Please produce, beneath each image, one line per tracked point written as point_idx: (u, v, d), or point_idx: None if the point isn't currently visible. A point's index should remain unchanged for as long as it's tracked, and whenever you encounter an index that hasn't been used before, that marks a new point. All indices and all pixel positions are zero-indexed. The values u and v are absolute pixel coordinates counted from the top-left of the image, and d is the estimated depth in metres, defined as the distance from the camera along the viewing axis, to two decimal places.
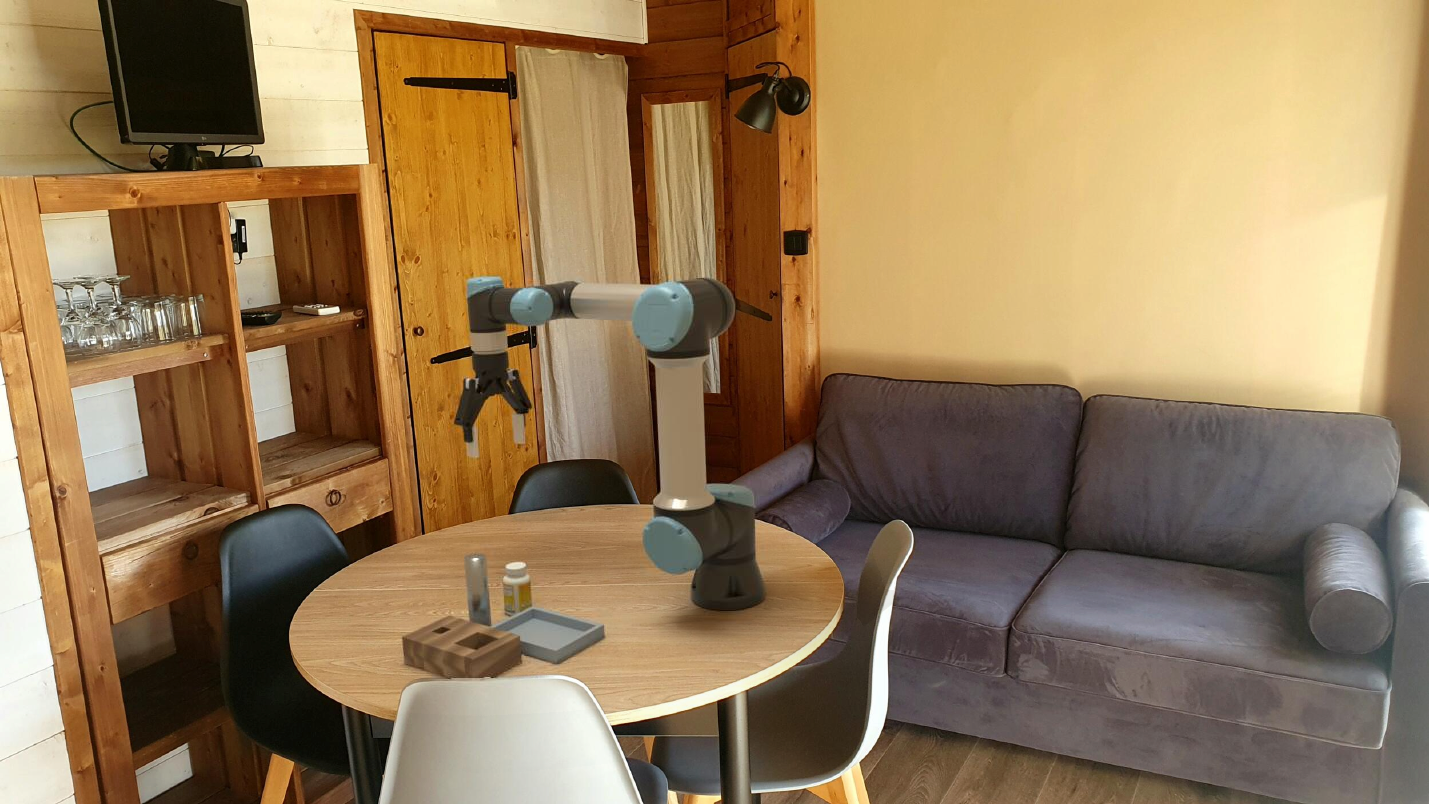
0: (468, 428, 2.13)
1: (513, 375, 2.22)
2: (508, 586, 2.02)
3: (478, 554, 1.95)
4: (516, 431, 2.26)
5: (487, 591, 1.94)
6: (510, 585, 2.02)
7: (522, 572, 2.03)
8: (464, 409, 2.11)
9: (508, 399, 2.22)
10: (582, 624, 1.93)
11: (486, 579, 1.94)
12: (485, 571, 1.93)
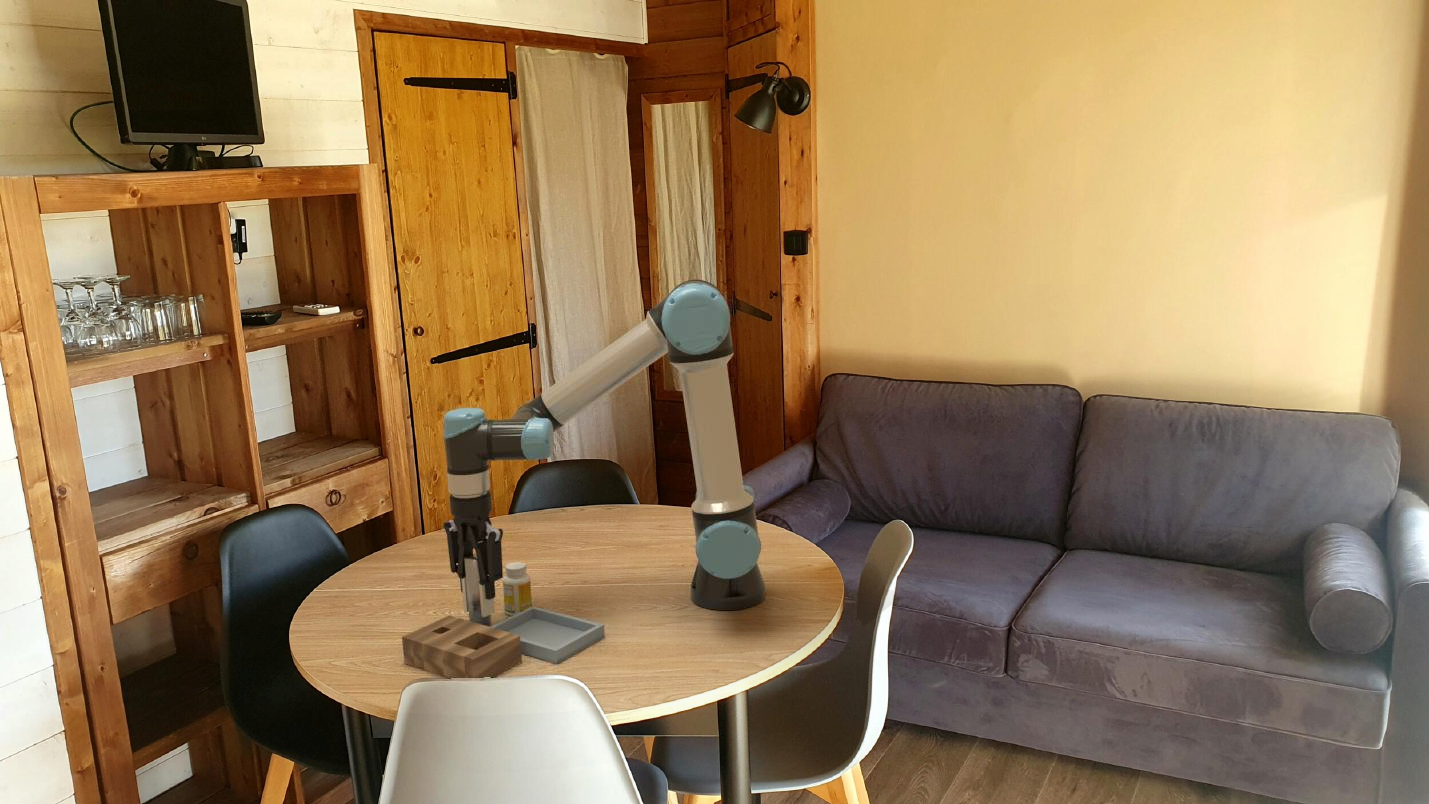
0: None
1: None
2: (508, 586, 2.02)
3: None
4: None
5: None
6: (510, 585, 2.02)
7: (522, 572, 2.03)
8: None
9: None
10: (582, 624, 1.93)
11: None
12: None
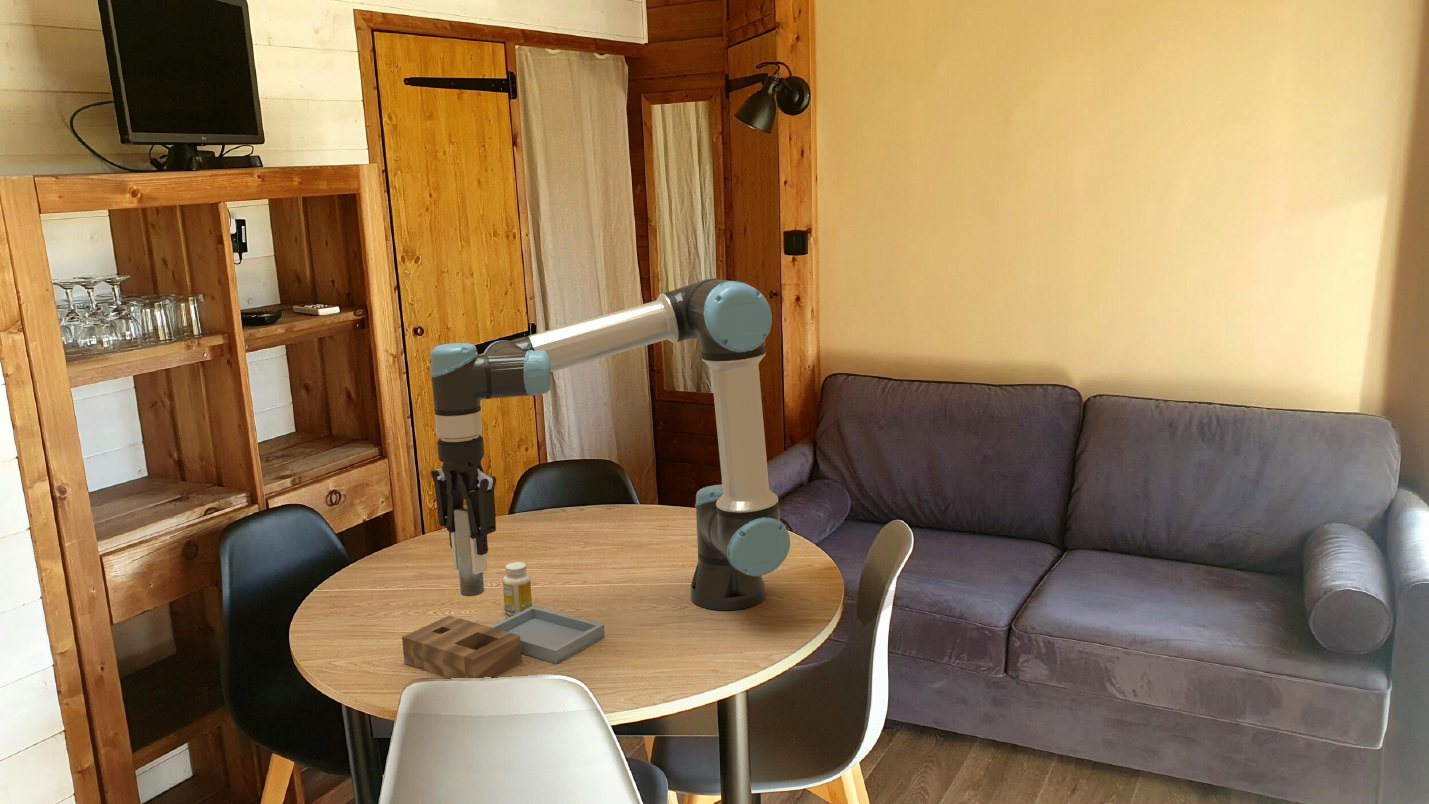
0: (449, 531, 1.78)
1: None
2: (508, 586, 2.02)
3: None
4: None
5: None
6: (509, 585, 2.02)
7: (522, 572, 2.03)
8: None
9: None
10: (582, 624, 1.93)
11: None
12: None
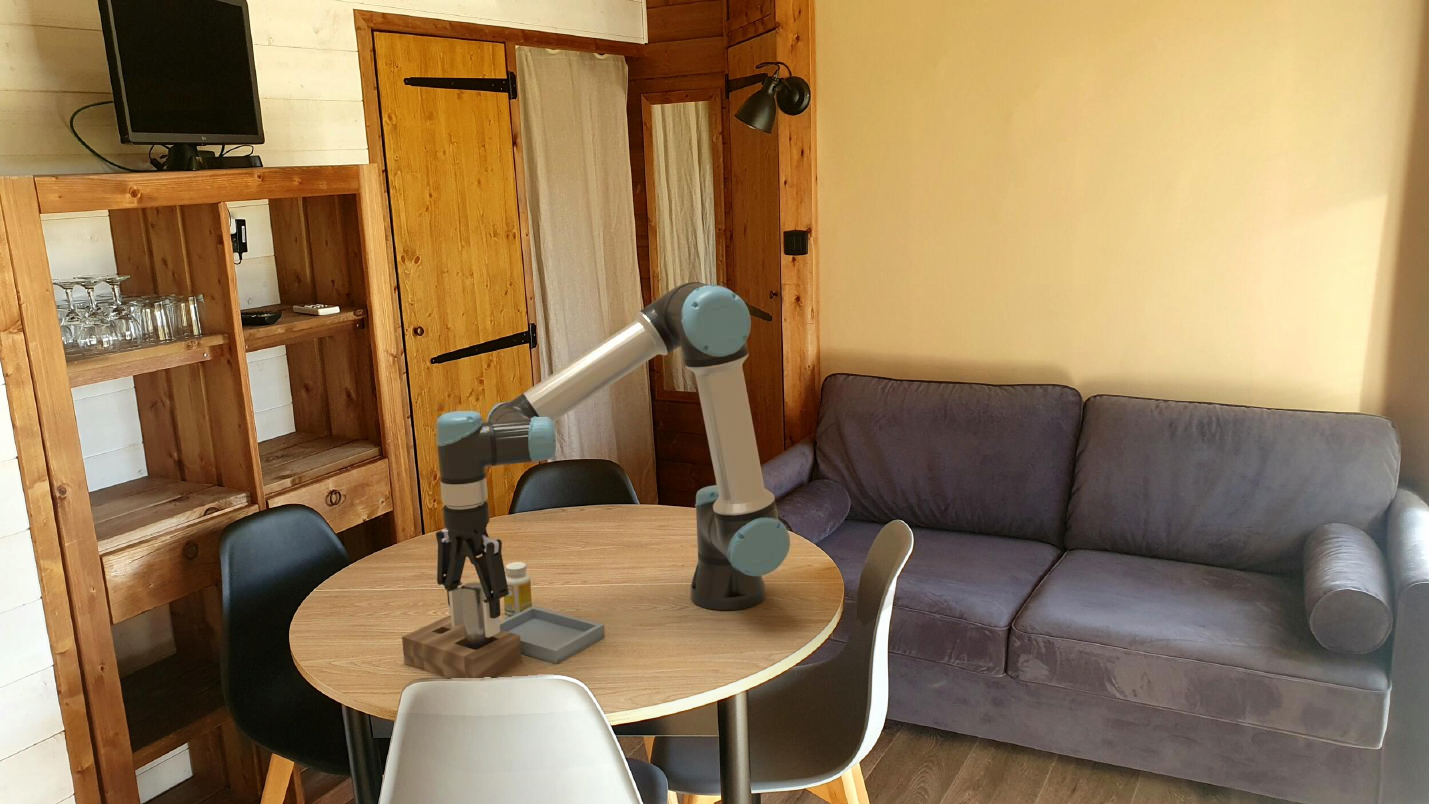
0: (447, 590, 1.81)
1: None
2: (508, 586, 2.02)
3: (476, 583, 1.80)
4: None
5: None
6: (509, 585, 2.02)
7: (522, 572, 2.03)
8: None
9: None
10: (582, 624, 1.93)
11: None
12: None
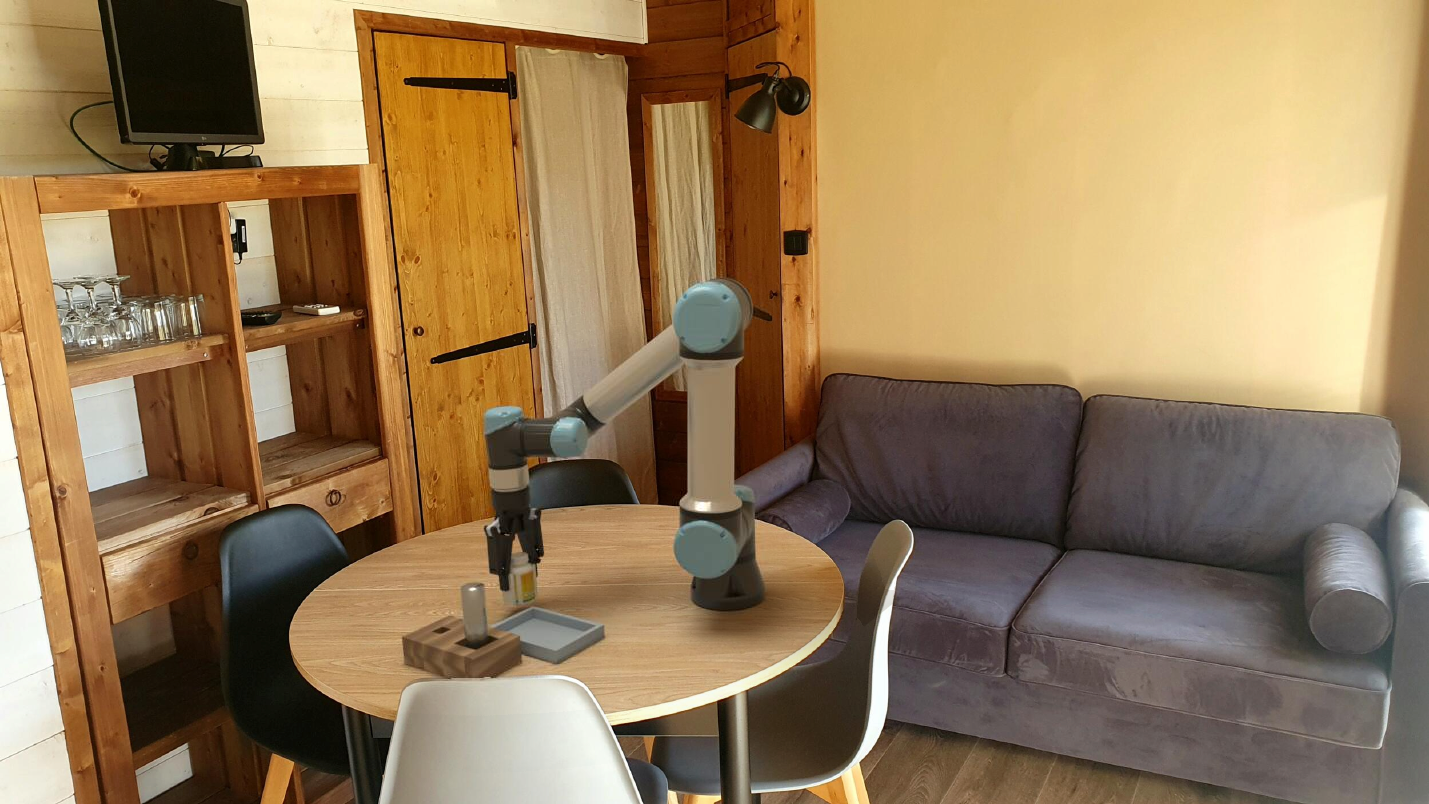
0: (504, 576, 2.00)
1: (535, 514, 2.06)
2: None
3: (476, 583, 1.80)
4: None
5: (485, 624, 1.79)
6: None
7: (524, 561, 2.02)
8: (495, 559, 1.97)
9: (523, 542, 2.05)
10: (582, 624, 1.93)
11: (484, 611, 1.79)
12: (483, 602, 1.78)
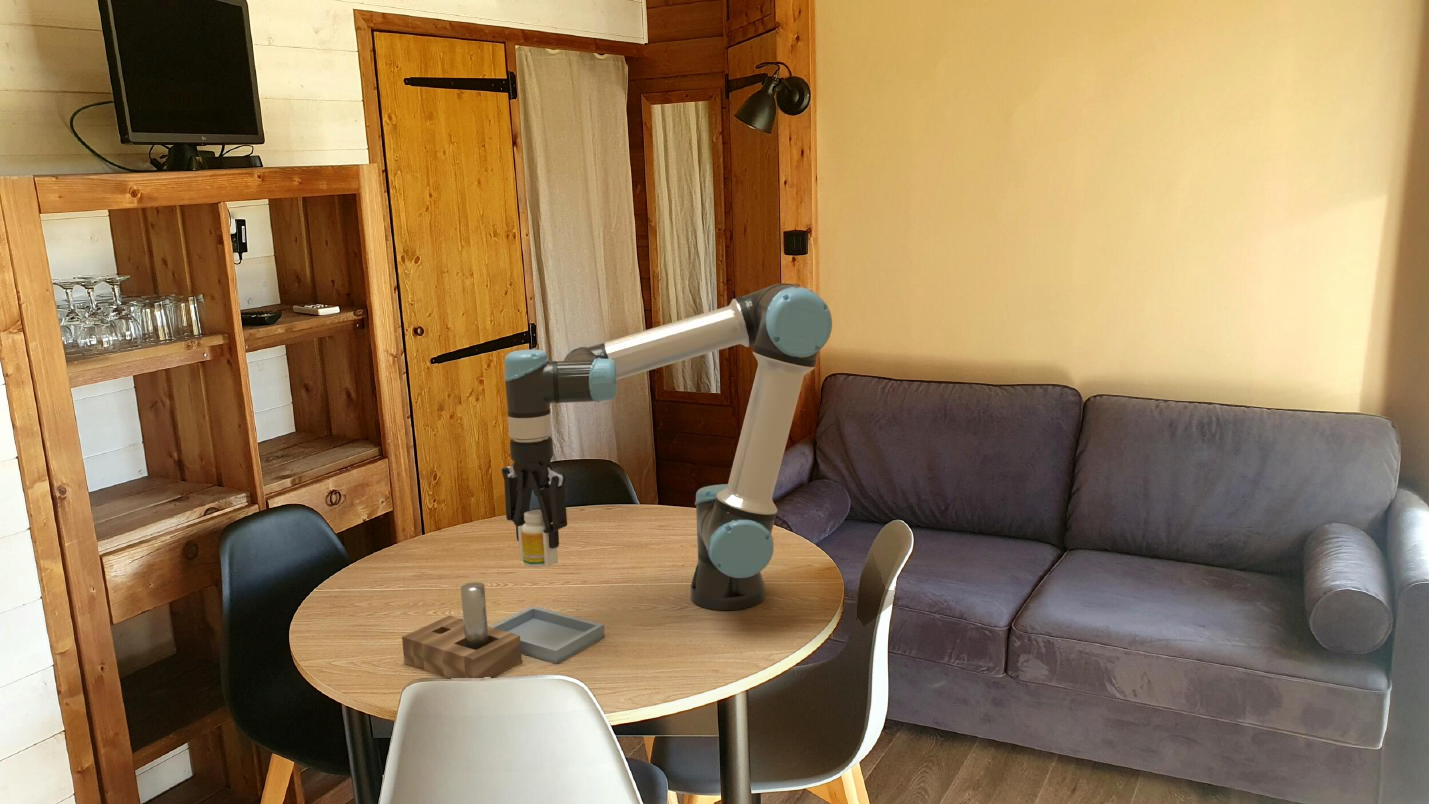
0: (516, 525, 1.89)
1: None
2: None
3: (476, 583, 1.80)
4: None
5: (485, 624, 1.79)
6: None
7: (526, 520, 1.86)
8: None
9: None
10: (582, 624, 1.93)
11: (485, 611, 1.79)
12: (483, 602, 1.78)
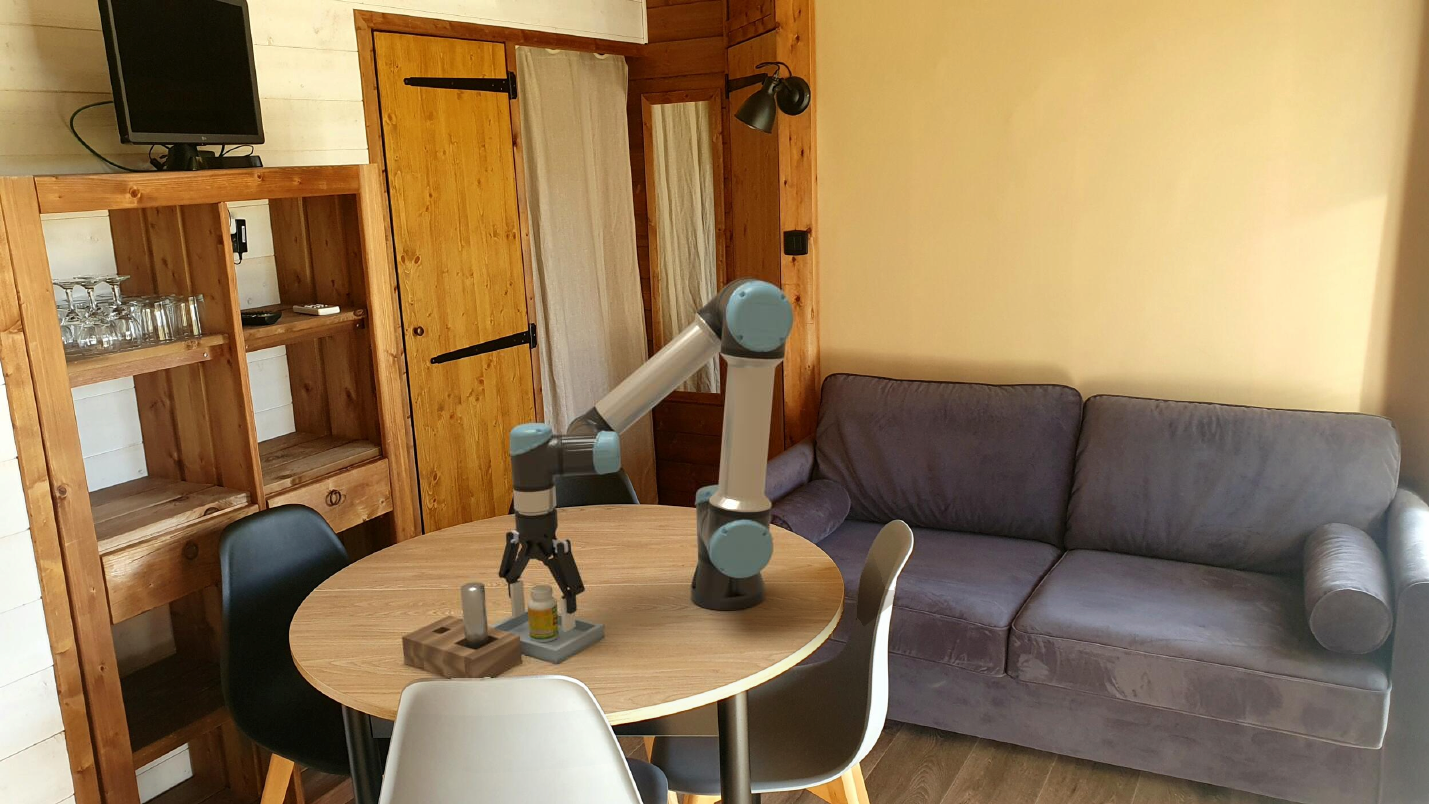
0: (508, 583, 1.93)
1: None
2: None
3: (476, 583, 1.80)
4: None
5: (485, 624, 1.79)
6: None
7: (533, 596, 1.88)
8: None
9: None
10: (582, 624, 1.93)
11: (484, 611, 1.79)
12: (483, 602, 1.78)
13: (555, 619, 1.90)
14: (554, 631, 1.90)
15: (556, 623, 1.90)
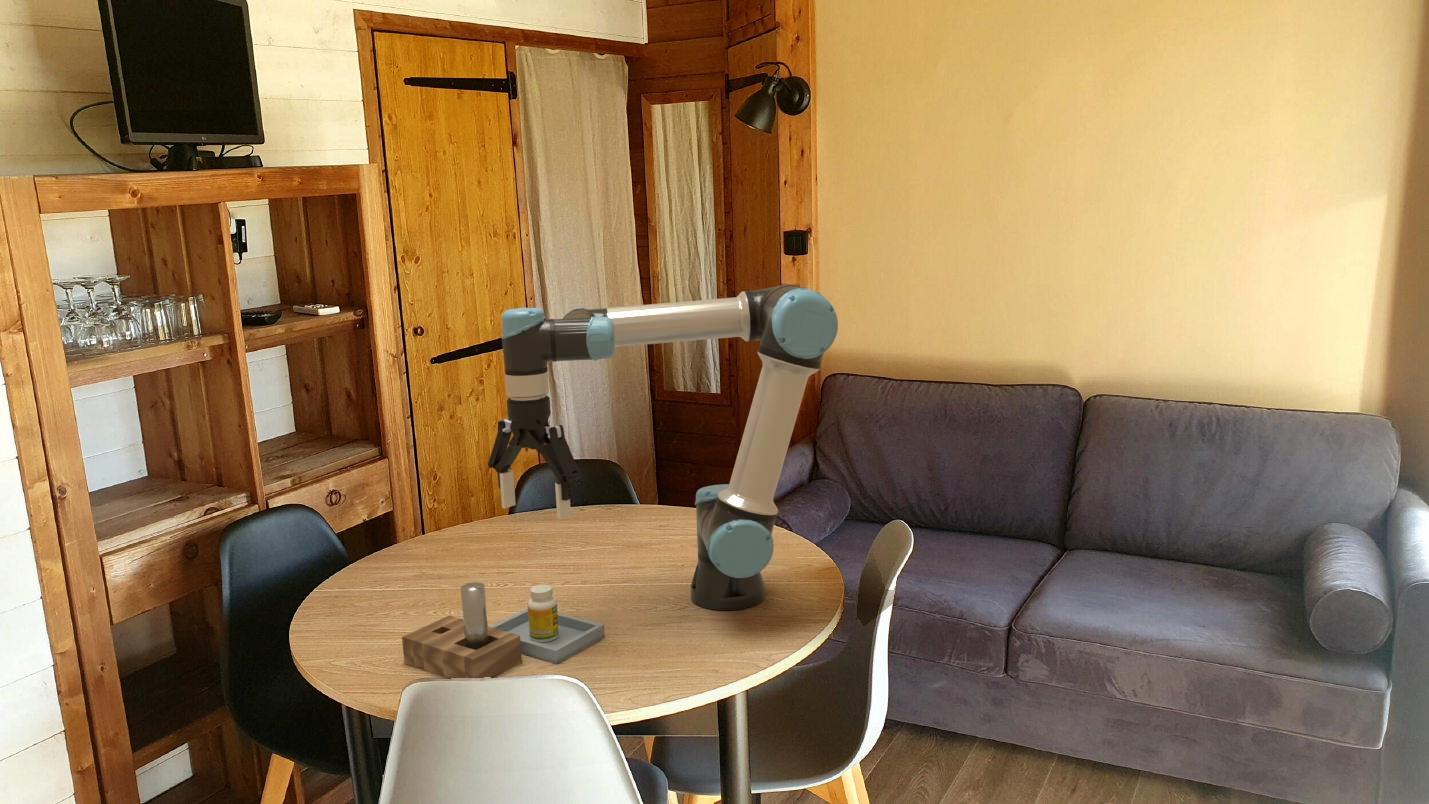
0: (498, 472, 1.90)
1: None
2: None
3: (476, 583, 1.80)
4: None
5: (485, 624, 1.79)
6: None
7: (533, 596, 1.88)
8: None
9: None
10: (582, 624, 1.93)
11: (484, 611, 1.79)
12: (483, 602, 1.78)
13: (555, 619, 1.90)
14: (554, 631, 1.90)
15: (556, 623, 1.90)
